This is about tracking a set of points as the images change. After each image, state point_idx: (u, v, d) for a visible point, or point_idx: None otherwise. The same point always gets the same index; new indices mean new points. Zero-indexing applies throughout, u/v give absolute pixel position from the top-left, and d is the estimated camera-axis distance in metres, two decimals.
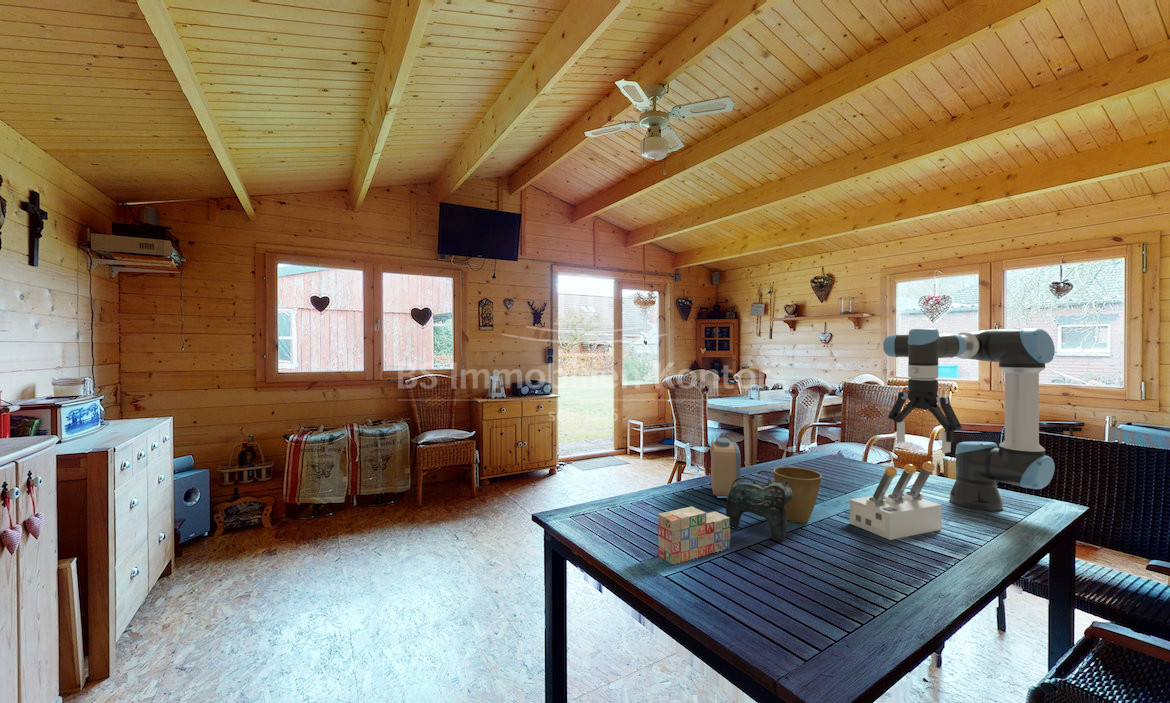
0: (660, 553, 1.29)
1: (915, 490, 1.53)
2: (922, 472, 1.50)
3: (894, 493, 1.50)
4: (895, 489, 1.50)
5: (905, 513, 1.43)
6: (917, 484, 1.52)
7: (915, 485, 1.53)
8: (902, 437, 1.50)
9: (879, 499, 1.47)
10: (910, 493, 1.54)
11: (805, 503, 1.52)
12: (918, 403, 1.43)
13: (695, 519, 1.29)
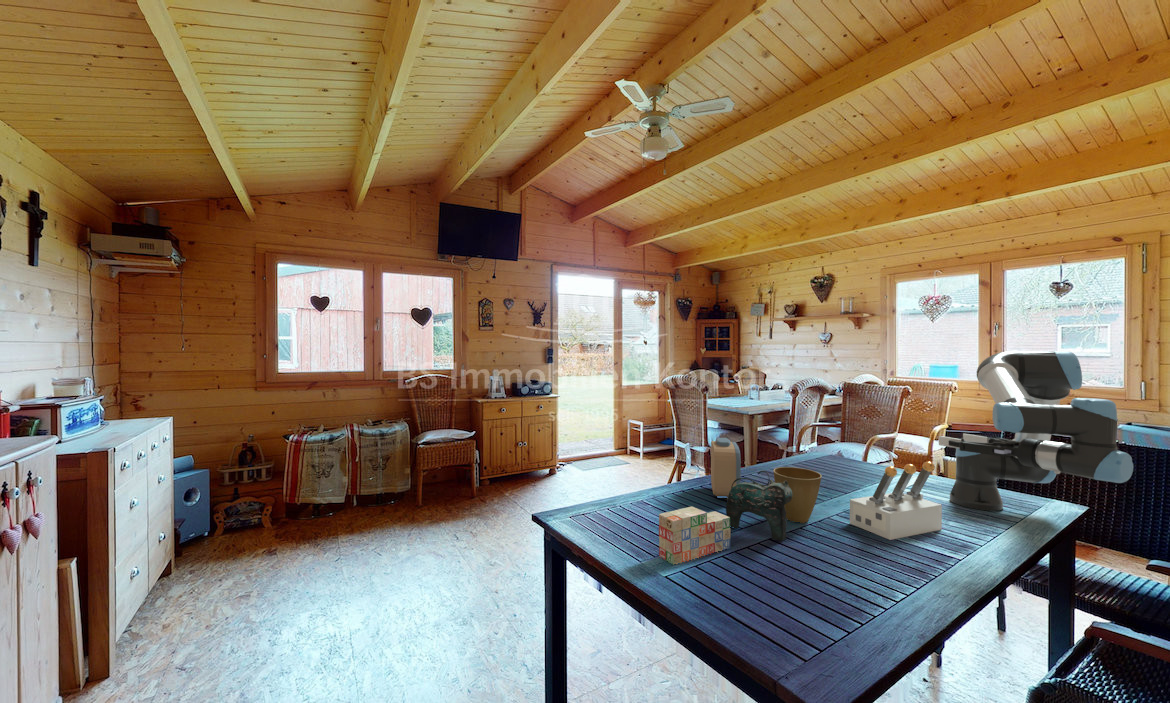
0: (661, 553, 1.29)
1: (915, 490, 1.53)
2: (922, 472, 1.50)
3: (894, 493, 1.50)
4: (895, 489, 1.50)
5: (905, 513, 1.43)
6: (917, 484, 1.52)
7: (915, 485, 1.53)
8: None
9: (879, 499, 1.47)
10: (910, 493, 1.54)
11: (805, 503, 1.52)
12: None
13: (696, 519, 1.29)
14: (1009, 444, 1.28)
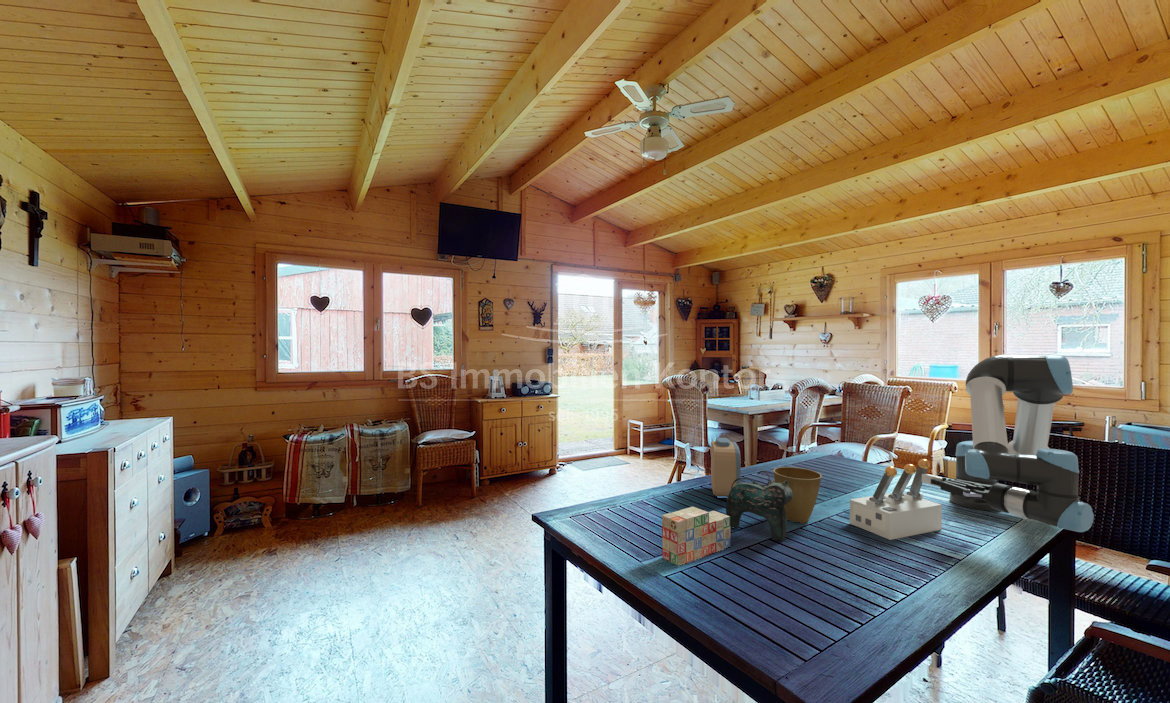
0: (664, 555, 1.28)
1: (914, 489, 1.53)
2: (918, 470, 1.52)
3: (894, 493, 1.50)
4: (895, 489, 1.50)
5: (905, 513, 1.43)
6: (915, 483, 1.53)
7: (914, 484, 1.53)
8: None
9: (879, 499, 1.47)
10: (910, 493, 1.54)
11: (805, 503, 1.52)
12: None
13: (699, 519, 1.29)
14: (979, 488, 1.34)
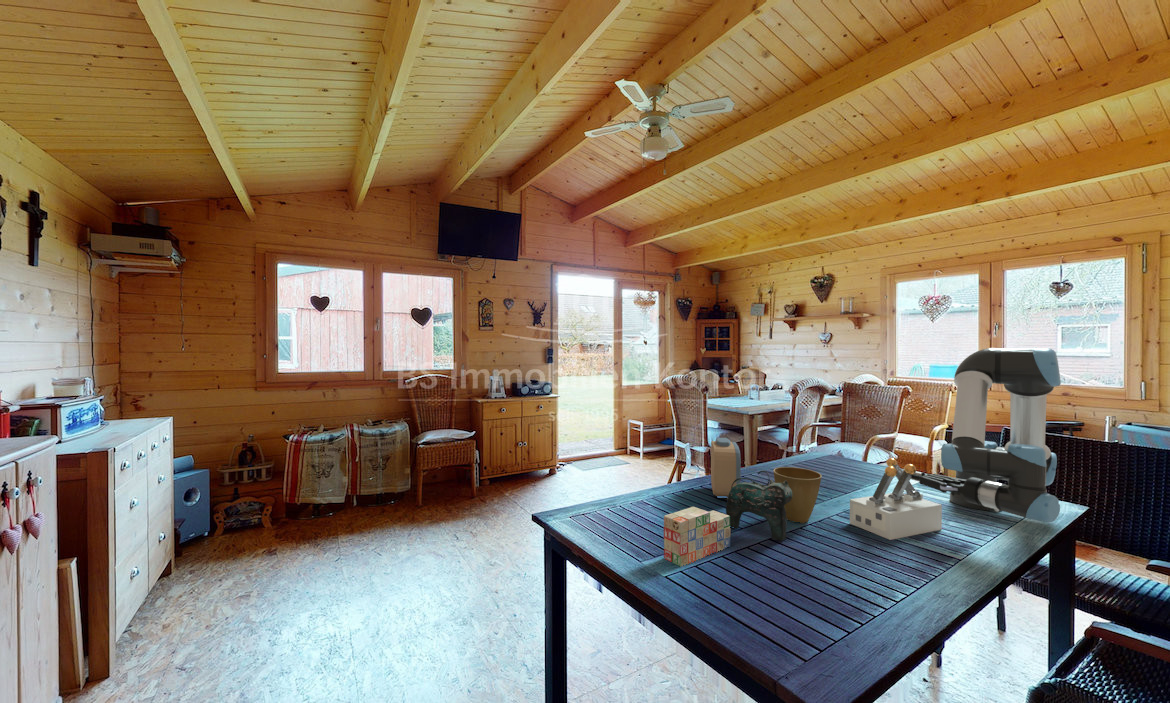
0: (666, 555, 1.28)
1: (907, 487, 1.55)
2: None
3: (894, 493, 1.50)
4: (895, 489, 1.50)
5: (905, 513, 1.43)
6: None
7: None
8: None
9: (879, 499, 1.47)
10: (908, 493, 1.54)
11: (805, 503, 1.52)
12: None
13: (701, 519, 1.28)
14: (955, 482, 1.40)
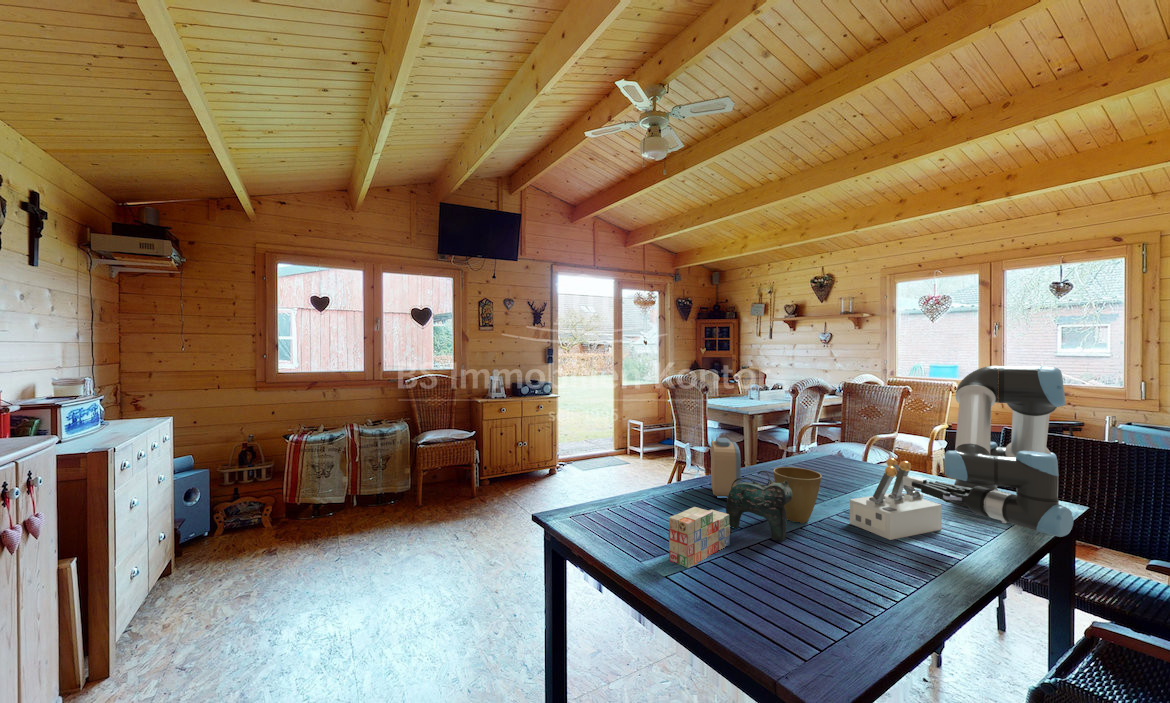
0: (672, 557, 1.27)
1: (907, 487, 1.55)
2: None
3: (893, 493, 1.51)
4: (894, 488, 1.51)
5: (905, 513, 1.43)
6: None
7: None
8: None
9: (879, 499, 1.47)
10: (908, 493, 1.54)
11: (805, 503, 1.52)
12: None
13: (705, 519, 1.28)
14: (959, 491, 1.31)
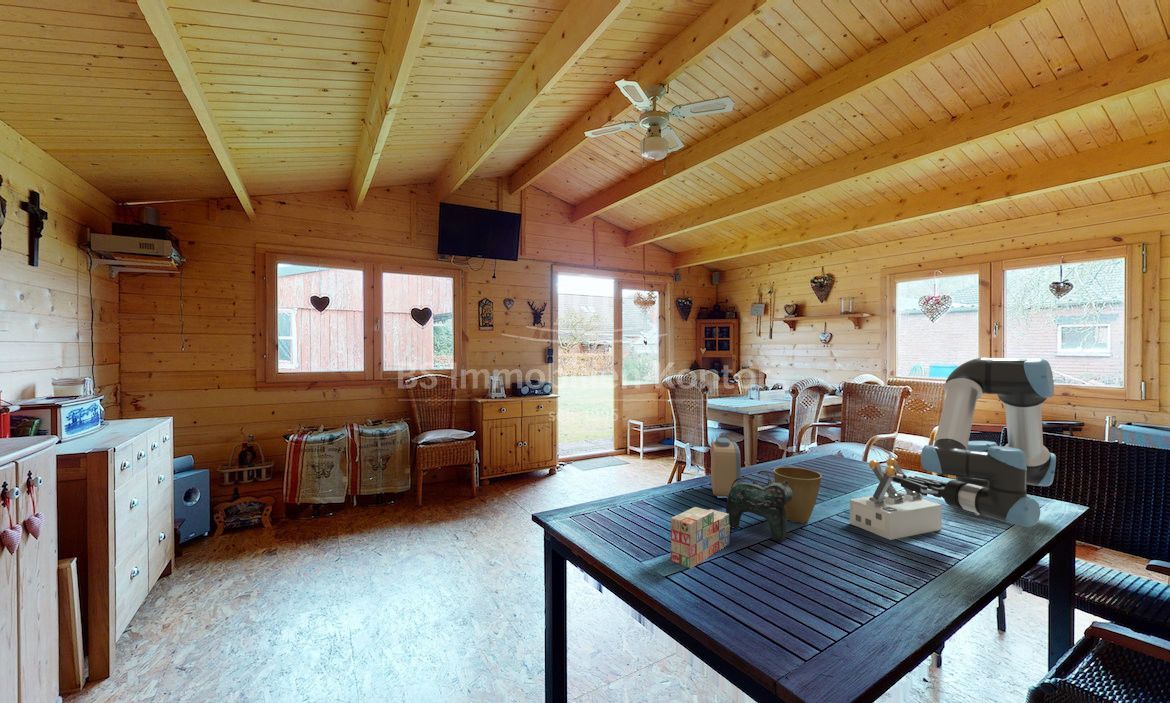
0: (674, 558, 1.26)
1: None
2: None
3: (889, 493, 1.52)
4: None
5: (905, 513, 1.43)
6: None
7: None
8: None
9: (879, 499, 1.47)
10: (908, 493, 1.54)
11: (805, 503, 1.52)
12: None
13: (706, 519, 1.29)
14: (936, 485, 1.37)
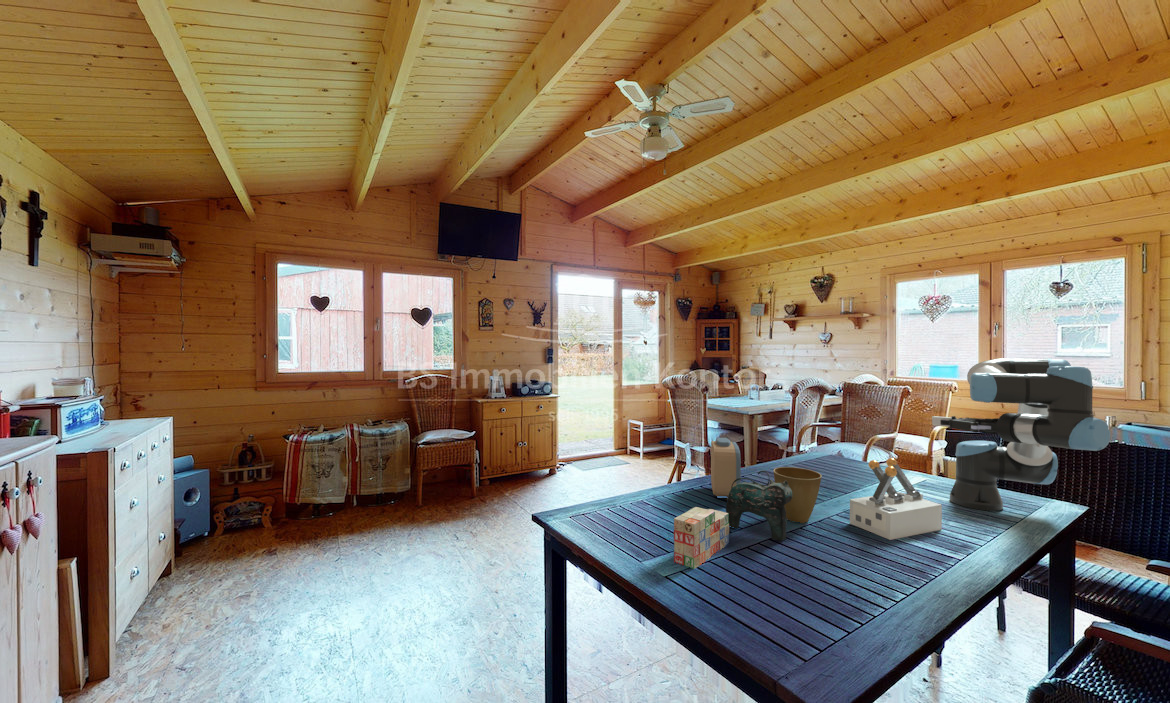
0: (677, 559, 1.26)
1: (907, 487, 1.55)
2: None
3: (889, 493, 1.52)
4: None
5: (905, 513, 1.43)
6: (902, 481, 1.57)
7: (903, 484, 1.56)
8: None
9: (879, 499, 1.47)
10: (908, 493, 1.54)
11: (805, 503, 1.52)
12: None
13: (708, 519, 1.29)
14: (988, 420, 1.26)
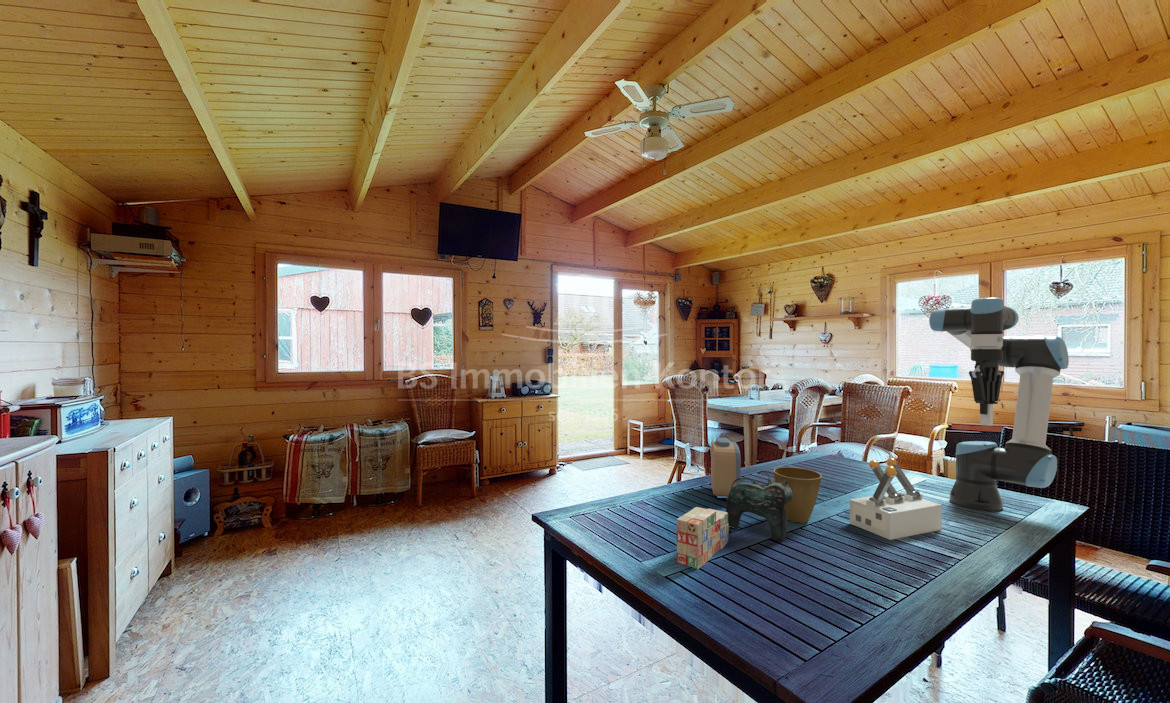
0: (680, 559, 1.26)
1: (907, 487, 1.55)
2: None
3: (889, 493, 1.52)
4: None
5: (905, 513, 1.43)
6: (902, 481, 1.57)
7: (903, 484, 1.56)
8: None
9: (879, 499, 1.47)
10: (908, 493, 1.54)
11: (805, 503, 1.52)
12: None
13: (710, 519, 1.29)
14: None
